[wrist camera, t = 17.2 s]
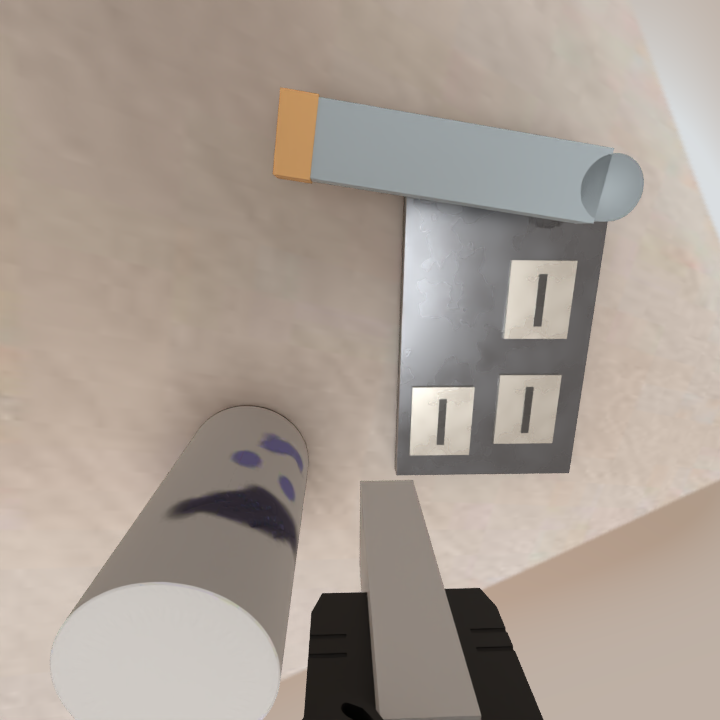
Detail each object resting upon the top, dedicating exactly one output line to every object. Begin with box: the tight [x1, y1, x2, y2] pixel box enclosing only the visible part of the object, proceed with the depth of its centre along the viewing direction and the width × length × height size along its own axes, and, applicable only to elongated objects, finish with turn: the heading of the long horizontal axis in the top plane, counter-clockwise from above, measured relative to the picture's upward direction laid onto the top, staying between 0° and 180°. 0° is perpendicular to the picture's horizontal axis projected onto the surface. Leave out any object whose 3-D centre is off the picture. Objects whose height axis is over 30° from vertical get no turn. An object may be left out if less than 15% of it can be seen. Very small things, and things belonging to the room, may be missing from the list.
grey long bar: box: [273, 87, 644, 224], centre depth 26 cm, size 21×4×2 cm, turn 82°
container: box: [50, 406, 309, 720], centre depth 30 cm, size 10×10×20 cm
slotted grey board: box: [395, 197, 608, 475], centre depth 36 cm, size 24×15×2 cm, turn 179°
